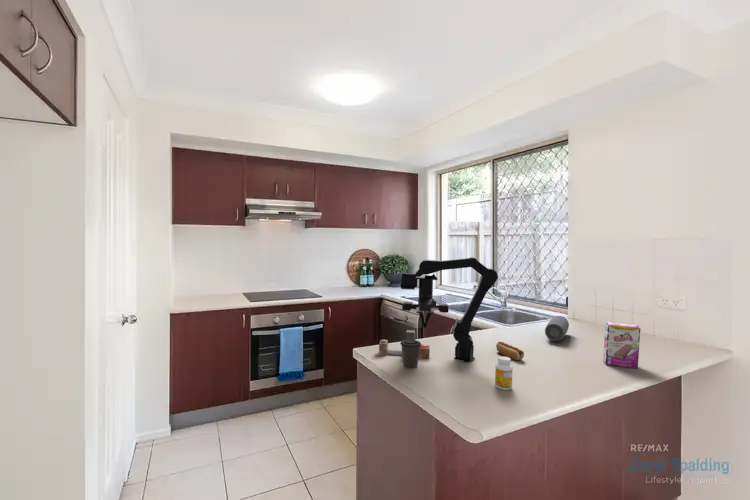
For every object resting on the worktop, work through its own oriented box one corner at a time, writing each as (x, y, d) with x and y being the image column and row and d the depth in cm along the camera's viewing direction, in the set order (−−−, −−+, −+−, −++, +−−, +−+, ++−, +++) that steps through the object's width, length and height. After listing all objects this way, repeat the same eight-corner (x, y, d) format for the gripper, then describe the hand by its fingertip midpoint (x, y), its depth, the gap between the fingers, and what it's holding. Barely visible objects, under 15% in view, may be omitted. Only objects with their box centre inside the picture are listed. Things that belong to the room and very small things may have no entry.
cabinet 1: (387, 351, 158) (387, 339, 157) (386, 355, 153) (386, 342, 152) (380, 351, 158) (380, 338, 158) (378, 355, 153) (379, 341, 153)
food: (493, 352, 161) (493, 340, 161) (503, 351, 163) (503, 339, 163) (515, 362, 148) (516, 350, 148) (526, 361, 150) (527, 349, 150)
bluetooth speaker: (564, 345, 173) (565, 324, 173) (543, 341, 178) (544, 321, 178) (569, 334, 192) (570, 316, 192) (550, 332, 197) (550, 313, 197)
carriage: (416, 353, 156) (416, 329, 156) (415, 357, 150) (416, 333, 150) (404, 352, 157) (405, 329, 157) (403, 356, 151) (404, 332, 151)
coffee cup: (419, 371, 136) (420, 344, 135) (398, 369, 137) (398, 342, 137) (421, 363, 144) (422, 338, 143) (401, 362, 145) (401, 337, 145)
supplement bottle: (492, 383, 126) (493, 355, 125) (507, 383, 126) (508, 355, 126) (498, 390, 120) (499, 361, 120) (514, 390, 121) (515, 360, 120)
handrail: (418, 355, 154) (418, 351, 154) (418, 356, 152) (418, 352, 152) (387, 353, 156) (387, 349, 156) (386, 354, 154) (386, 350, 154)
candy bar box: (605, 365, 146) (607, 324, 146) (602, 361, 151) (604, 321, 150) (638, 369, 143) (641, 327, 142) (634, 365, 147) (636, 324, 147)
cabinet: (429, 354, 155) (429, 345, 155) (429, 358, 150) (429, 349, 150) (418, 354, 156) (418, 344, 155) (418, 357, 151) (418, 348, 150)
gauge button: (427, 353, 154) (427, 344, 154) (427, 356, 151) (427, 346, 151) (420, 353, 154) (420, 344, 154) (420, 355, 151) (420, 346, 151)
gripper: (401, 292, 145) (400, 331, 146) (449, 294, 143) (448, 334, 143) (403, 288, 156) (402, 324, 157) (448, 290, 154) (447, 327, 154)
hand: (424, 327), depth 153 cm, fingers closed
